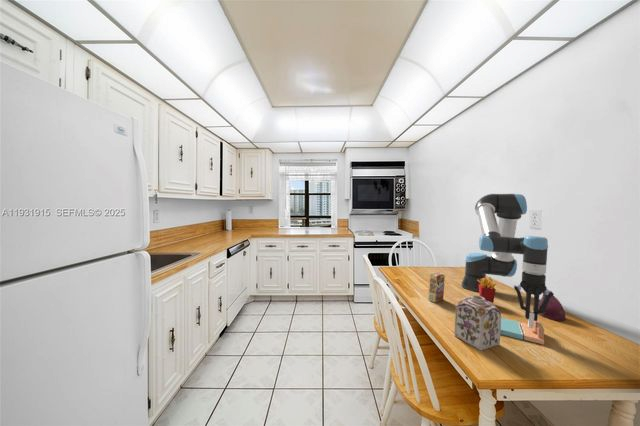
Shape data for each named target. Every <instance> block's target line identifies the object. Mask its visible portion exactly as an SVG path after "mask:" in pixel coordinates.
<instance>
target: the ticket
mask: <svg viewBox="0 0 640 426" xmlns="http://www.w3.org/2000/svg"><path fill="white" fill-rule="evenodd" d="M500 335H502V336H507V337H511V338H515V339H517V340H523V341H524V337H523V333H522V330H521V327H520V322H519V321H518V320H514V319H510V318H504V317H501V331H500Z"/></svg>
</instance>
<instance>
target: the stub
mask: <svg viewBox="0 0 640 426" xmlns="http://www.w3.org/2000/svg"><path fill="white" fill-rule="evenodd" d="M519 324H520V327H521V330H522V333H523V341H527V342H532V343H536V344H540V345H545V338H544V337H545V328H544V326H543V325H542V322H541V321H540V318H539V317H538V318H537V321H534V328H533V329H532V328H529V327H528V322H527V323H526V322H523V321H520V322H519Z"/></svg>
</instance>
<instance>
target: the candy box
mask: <svg viewBox="0 0 640 426" xmlns="http://www.w3.org/2000/svg"><path fill="white" fill-rule="evenodd" d="M445 276H446V274H445V273H442V272H436V273H432V274H430V275H429V289H428V301H430V302H433V303H437V302H440V301H443V300H444V293H445V278H446V277H445Z"/></svg>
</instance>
